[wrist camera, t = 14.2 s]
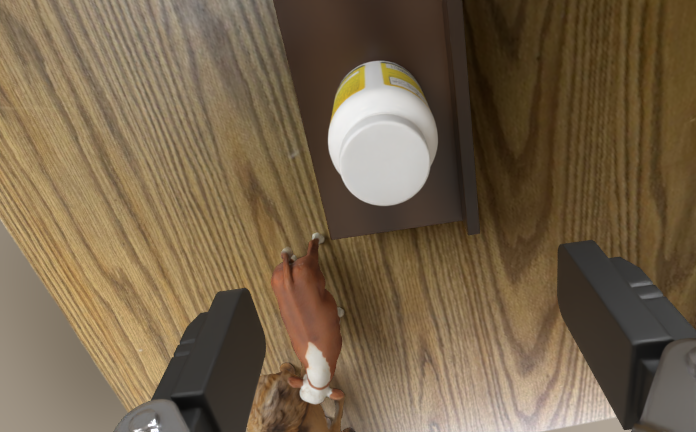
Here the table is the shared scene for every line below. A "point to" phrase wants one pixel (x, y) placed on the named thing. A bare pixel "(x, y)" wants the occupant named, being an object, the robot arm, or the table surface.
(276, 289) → the bull figurine
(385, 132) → the supplement bottle
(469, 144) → the shelf
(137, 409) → the robot arm
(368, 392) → the table surface
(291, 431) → the lion figurine
